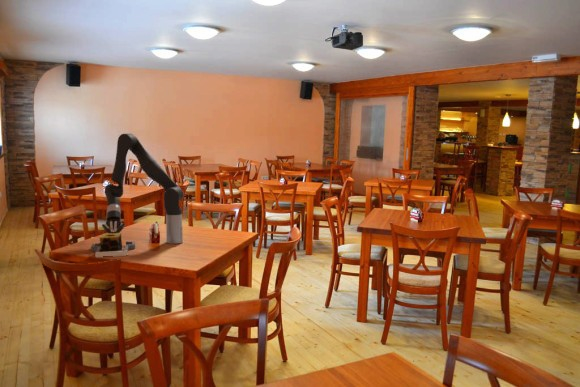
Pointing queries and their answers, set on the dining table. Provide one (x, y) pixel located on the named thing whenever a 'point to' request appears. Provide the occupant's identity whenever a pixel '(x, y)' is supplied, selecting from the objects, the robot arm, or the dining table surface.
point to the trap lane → (113, 253)
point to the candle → (110, 242)
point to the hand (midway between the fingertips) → (113, 238)
